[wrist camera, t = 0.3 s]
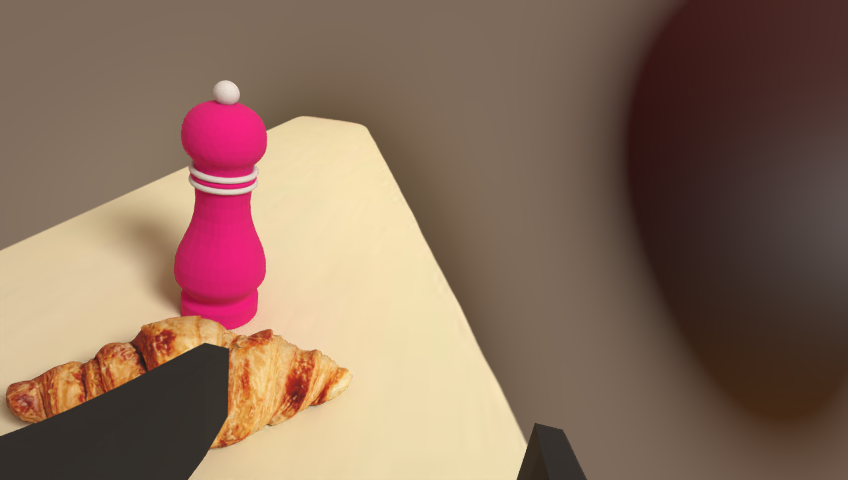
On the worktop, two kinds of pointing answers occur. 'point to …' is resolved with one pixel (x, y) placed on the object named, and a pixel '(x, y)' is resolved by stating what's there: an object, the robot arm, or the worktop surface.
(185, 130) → the pepper mill
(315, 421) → the worktop surface
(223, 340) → the croissant
